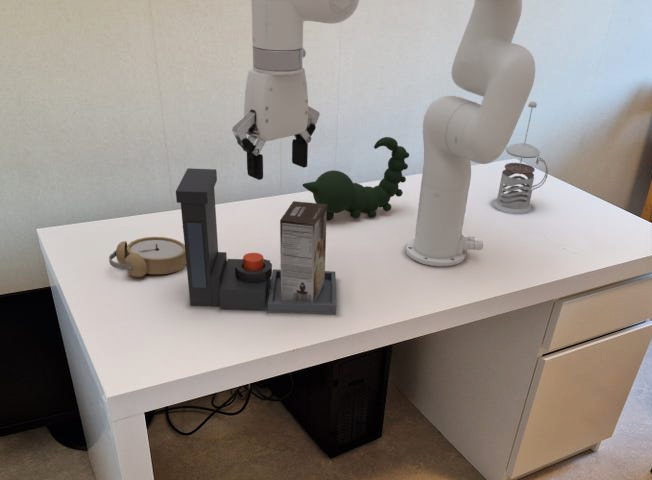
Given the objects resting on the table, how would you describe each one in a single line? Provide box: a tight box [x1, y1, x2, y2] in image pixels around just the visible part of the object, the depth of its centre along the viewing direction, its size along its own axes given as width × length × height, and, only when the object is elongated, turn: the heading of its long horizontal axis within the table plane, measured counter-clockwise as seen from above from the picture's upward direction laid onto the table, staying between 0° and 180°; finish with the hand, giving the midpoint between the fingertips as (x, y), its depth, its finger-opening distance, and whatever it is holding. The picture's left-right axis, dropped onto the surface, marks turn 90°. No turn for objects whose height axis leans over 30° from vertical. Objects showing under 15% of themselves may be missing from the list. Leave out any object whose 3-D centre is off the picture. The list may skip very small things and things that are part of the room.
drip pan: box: [267, 268, 337, 316], centre depth 123 cm, size 12×13×2 cm
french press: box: [491, 101, 549, 215], centre depth 158 cm, size 10×12×25 cm
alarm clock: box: [108, 236, 187, 278], centre depth 129 cm, size 11×5×15 cm
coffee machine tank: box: [175, 168, 228, 308], centre depth 117 cm, size 6×11×22 cm, turn 1°
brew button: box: [242, 252, 264, 271], centre depth 119 cm, size 4×4×2 cm
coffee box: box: [279, 200, 327, 303], centre depth 118 cm, size 9×6×16 cm
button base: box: [219, 258, 273, 312], centre depth 121 cm, size 9×12×6 cm
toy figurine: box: [302, 136, 410, 222], centre depth 150 cm, size 9×19×25 cm
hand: (278, 171), depth 110 cm, fingers open, 9 cm apart
